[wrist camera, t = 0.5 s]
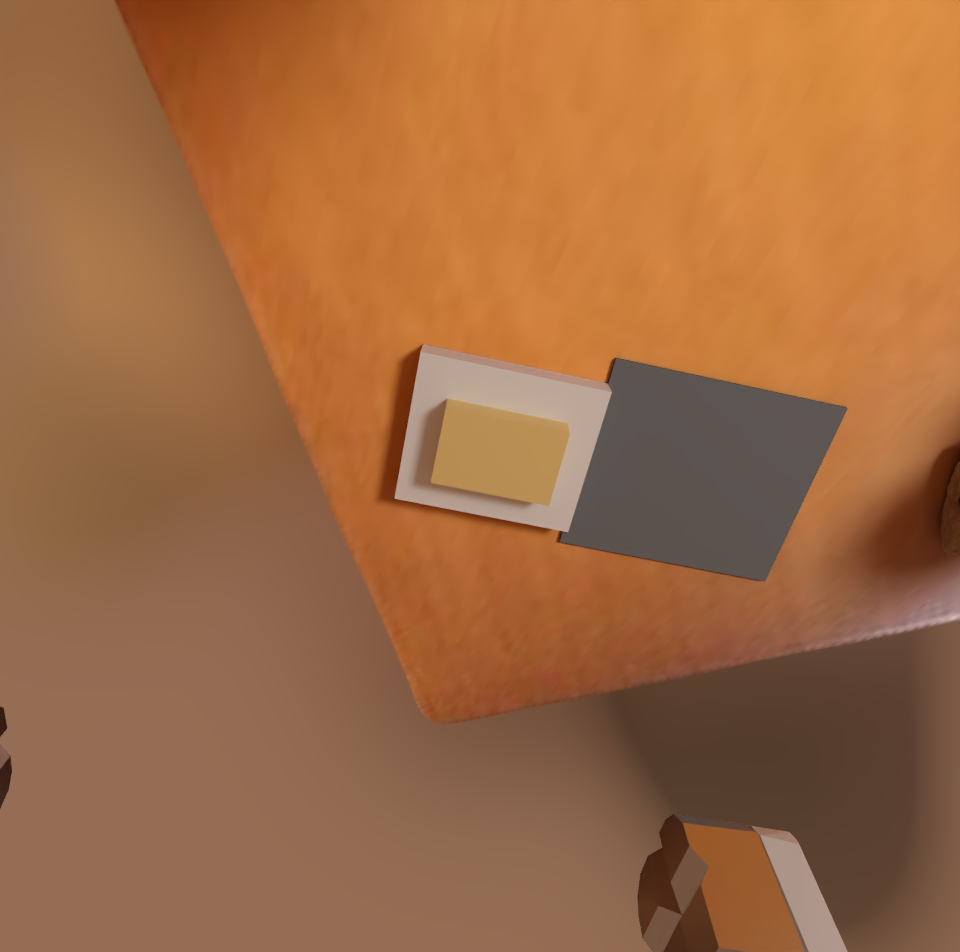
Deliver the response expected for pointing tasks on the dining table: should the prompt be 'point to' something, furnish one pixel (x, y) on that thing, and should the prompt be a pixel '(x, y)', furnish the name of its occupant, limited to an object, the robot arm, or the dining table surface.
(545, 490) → the yellow rectangular block
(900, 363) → the dining table surface
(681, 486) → the mat
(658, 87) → the dining table surface
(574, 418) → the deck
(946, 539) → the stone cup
